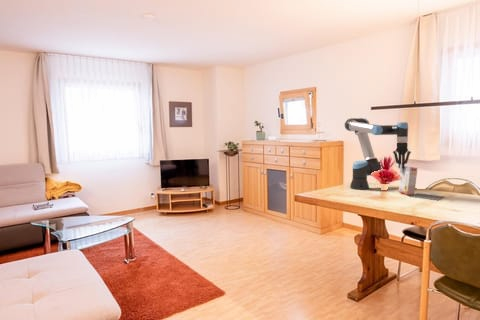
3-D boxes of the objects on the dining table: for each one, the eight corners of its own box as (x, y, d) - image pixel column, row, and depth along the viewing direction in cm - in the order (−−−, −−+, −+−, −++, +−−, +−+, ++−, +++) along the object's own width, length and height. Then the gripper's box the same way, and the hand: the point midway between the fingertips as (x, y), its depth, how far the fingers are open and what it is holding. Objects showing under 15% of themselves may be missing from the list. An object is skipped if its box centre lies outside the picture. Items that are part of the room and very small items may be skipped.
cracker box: (414, 195, 238) (417, 167, 237) (406, 194, 238) (409, 167, 237) (405, 192, 252) (408, 166, 251) (398, 191, 252) (400, 165, 251)
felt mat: (409, 196, 236) (409, 196, 236) (416, 193, 247) (416, 193, 247) (438, 200, 222) (438, 199, 222) (444, 197, 233) (444, 196, 233)
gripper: (391, 142, 247) (390, 172, 249) (409, 142, 238) (408, 173, 240) (395, 142, 252) (394, 171, 254) (412, 142, 243) (412, 172, 245)
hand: (401, 172), depth 247 cm, fingers closed
